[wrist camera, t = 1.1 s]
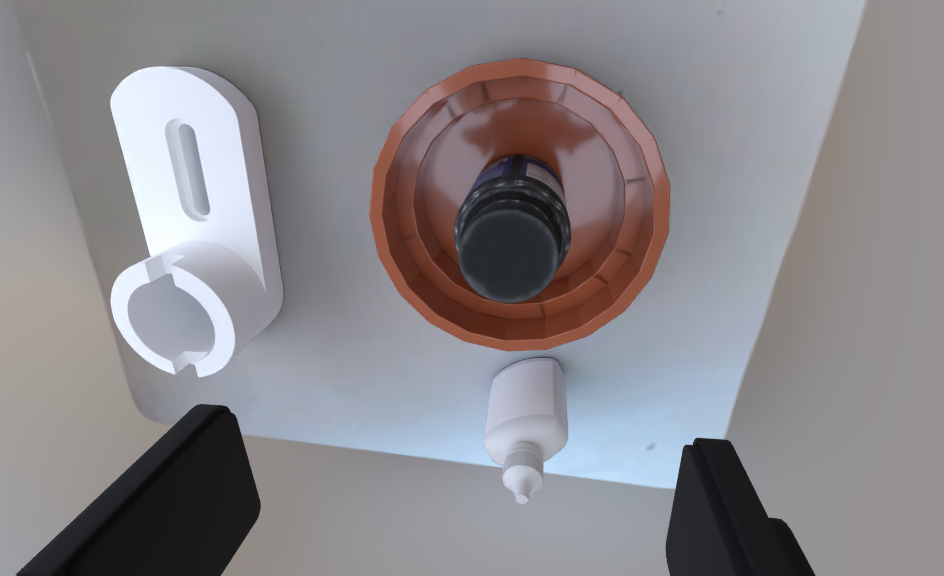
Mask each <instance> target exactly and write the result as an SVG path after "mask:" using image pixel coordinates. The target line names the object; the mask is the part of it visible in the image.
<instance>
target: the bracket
mask: <svg viewBox="0 0 944 576" xmlns="http://www.w3.org/2000/svg"><path fill="white" fill-rule="evenodd" d="M111 110H112V114H113V118H114V121H115V125H116V129H117V133H118V136H119V140H120V144H121V148H122V151H123V155H124V159H125V162H126V166H127V170H128V174H129V177H130V181H131V185H132V189H133V192H134V196H135V200H136V204H137V207H138V211H139V215H140V219H141V222H142V226H143V230H144V234H145V237H146V241H147V245H148V248H149V252H150V256H151V257H150V258H147V259H145V260H143V261H141V262H139V263H137V264H135V265H133V266H131V267H129V268H127V269H126V270H125V271H123V272H122V273H121V274H120V275H119V277H118V278H117V279H116V281H115V283H114V285H113V288H112V293H111V308H112V313H113V316H114V319H115V322H116V324H117V326H118V328H119V330H120V332H121V334H122V335H123V337H124V338H125V340H126V341H127V342H128V343H129V345H130V346H131V347H132V348H133V349H134V350H135V351H136V352H137V353H138V354H139V355H140V356H142V357H143V358H144V359H145V360H147V361H148V362H150V363H151V364H153V365H154V366H156V367H158V368H160V369H162V370H164V371H166V372H169V373H172V374H175V375H176V374H177V373H178V372H179V371H180V370H182V369H183V368H184V367H185V366H186V365H188V364H189V363H190V364H194V365H195V366H196V370H197V374H198V377H203V376H208V375H211V374H213V373H216V372H217V371H219V370H220V369H222V368H223V367H224V366H225V365H226V364H227V363H228V362H229V361H231V360H232V359H233V358H234V357H235V356H236V355H237V354H238V353H239V352H240V351H241V350H242V349H243V348H244V347H245V346H247V345H248V344H249V343H250V342H251V341H252V340H253V339H254V338H255V337H256V336H257V335H258V334H259V333H260V332H262V331H263V330H264V329H265V328H266V327H267V326H268V325H269V324H270V323H271V322H272V321H273V320H274V319H275V318H276V317H277V315H278V314H279V312H280V310H281V307H282V304H283V297H284V292H283V285H282V278H281V272H280V265H279V258H278V251H277V245H276V238H275V231H274V225H273V218H272V211H271V204H270V198H269V191H268V184H267V177H266V171H265V164H264V157H263V151H262V144H261V137H260V130H259V124H258V117H257V113H256V110H255V108H254V106H253V105H252V103H251V102H250V101H249V100H248V99H247V97H246V96H245V95H244V94H243V93H242V92H241V91H240V90H239V89H237V88H236V87H235V86H234V85H233V84H231V83H230V82H228V81H227V80H225V79H224V78H222V77H220V76H218V75H217V74H214V73H212V72H210V71H207V70H204V69H200V68H195V67H150V68H145V69H141V70H138V71H136V72H134V73H132V74H131V75H129V76H128V77H126V78H125V79H124V80H123V81H122V82H121V83H120V84H119V85H118V87H117V88H116V89H115V91H114V93H113V94H112V97H111Z"/></svg>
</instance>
